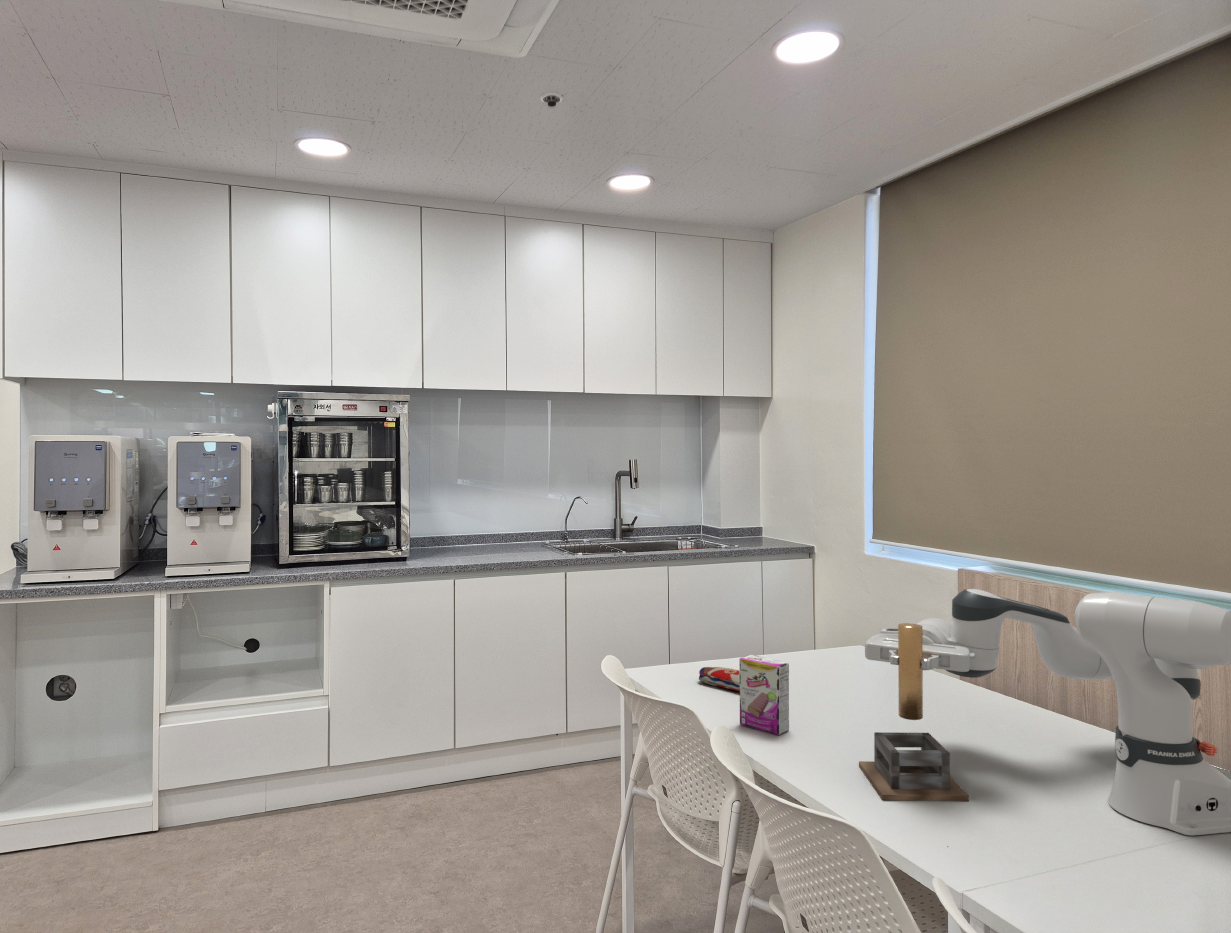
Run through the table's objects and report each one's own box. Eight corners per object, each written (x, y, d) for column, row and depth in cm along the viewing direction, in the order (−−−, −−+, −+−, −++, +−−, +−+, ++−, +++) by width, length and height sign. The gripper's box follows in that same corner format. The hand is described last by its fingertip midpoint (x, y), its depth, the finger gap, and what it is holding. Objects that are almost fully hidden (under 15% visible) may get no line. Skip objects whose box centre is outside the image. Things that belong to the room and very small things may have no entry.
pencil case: (736, 700, 206) (736, 682, 206) (693, 682, 223) (693, 665, 223) (768, 694, 212) (768, 675, 211) (723, 676, 228) (723, 659, 228)
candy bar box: (738, 725, 186) (738, 657, 186) (750, 720, 190) (749, 653, 190) (779, 736, 179) (778, 666, 178) (790, 730, 182) (789, 661, 182)
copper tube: (918, 712, 155) (917, 623, 155) (926, 720, 151) (925, 628, 150) (895, 712, 155) (895, 623, 155) (902, 719, 151) (902, 628, 151)
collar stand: (936, 766, 160) (936, 728, 160) (968, 800, 144) (968, 758, 144) (858, 766, 161) (858, 728, 161) (882, 800, 145) (882, 757, 145)
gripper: (976, 669, 158) (966, 686, 147) (874, 656, 169) (857, 671, 157) (976, 638, 158) (966, 653, 146) (874, 627, 169) (857, 640, 157)
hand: (909, 662), depth 152 cm, fingers closed on copper tube, 4 cm apart
